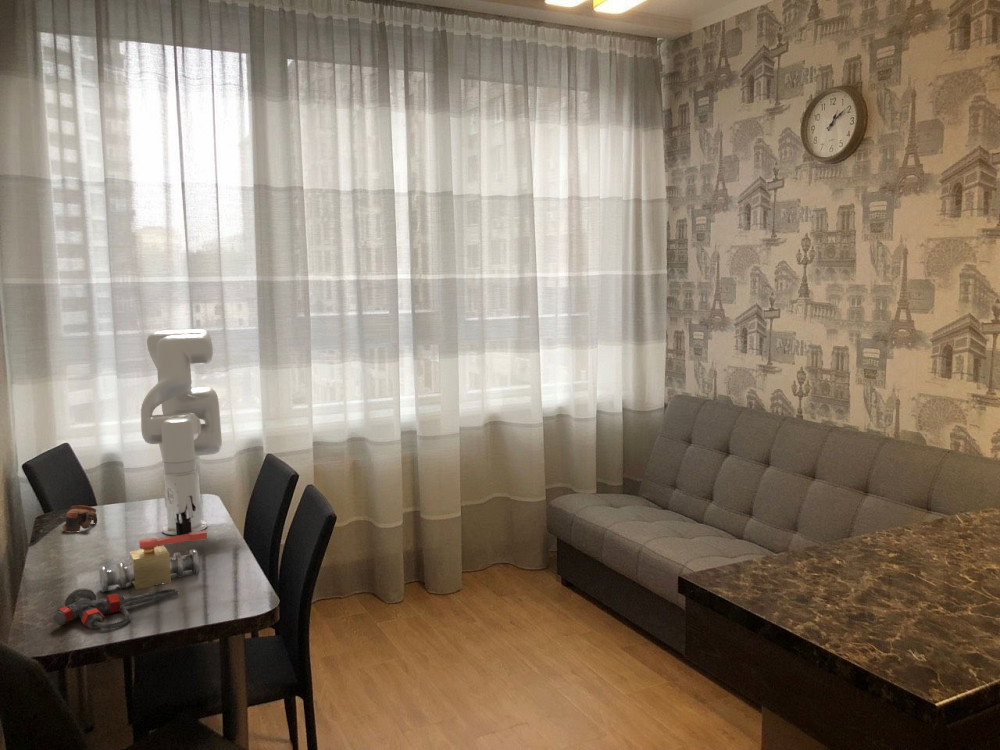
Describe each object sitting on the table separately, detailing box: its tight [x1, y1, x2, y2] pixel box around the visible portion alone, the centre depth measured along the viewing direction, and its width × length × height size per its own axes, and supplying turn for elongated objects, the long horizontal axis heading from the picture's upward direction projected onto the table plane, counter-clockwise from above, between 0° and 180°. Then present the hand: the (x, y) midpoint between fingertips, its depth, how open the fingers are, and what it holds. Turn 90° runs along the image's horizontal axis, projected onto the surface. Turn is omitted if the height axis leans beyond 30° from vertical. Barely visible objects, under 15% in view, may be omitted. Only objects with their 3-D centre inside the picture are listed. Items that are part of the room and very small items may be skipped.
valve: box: [52, 587, 179, 630], centre depth 177 cm, size 6×26×15 cm
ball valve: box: [98, 545, 201, 593], centre depth 196 cm, size 7×22×9 cm, turn 123°
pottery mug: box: [62, 505, 98, 533], centre depth 242 cm, size 12×10×8 cm
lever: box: [138, 529, 208, 550], centre depth 198 cm, size 16×4×2 cm, turn 118°
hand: (184, 536), depth 204 cm, fingers closed
